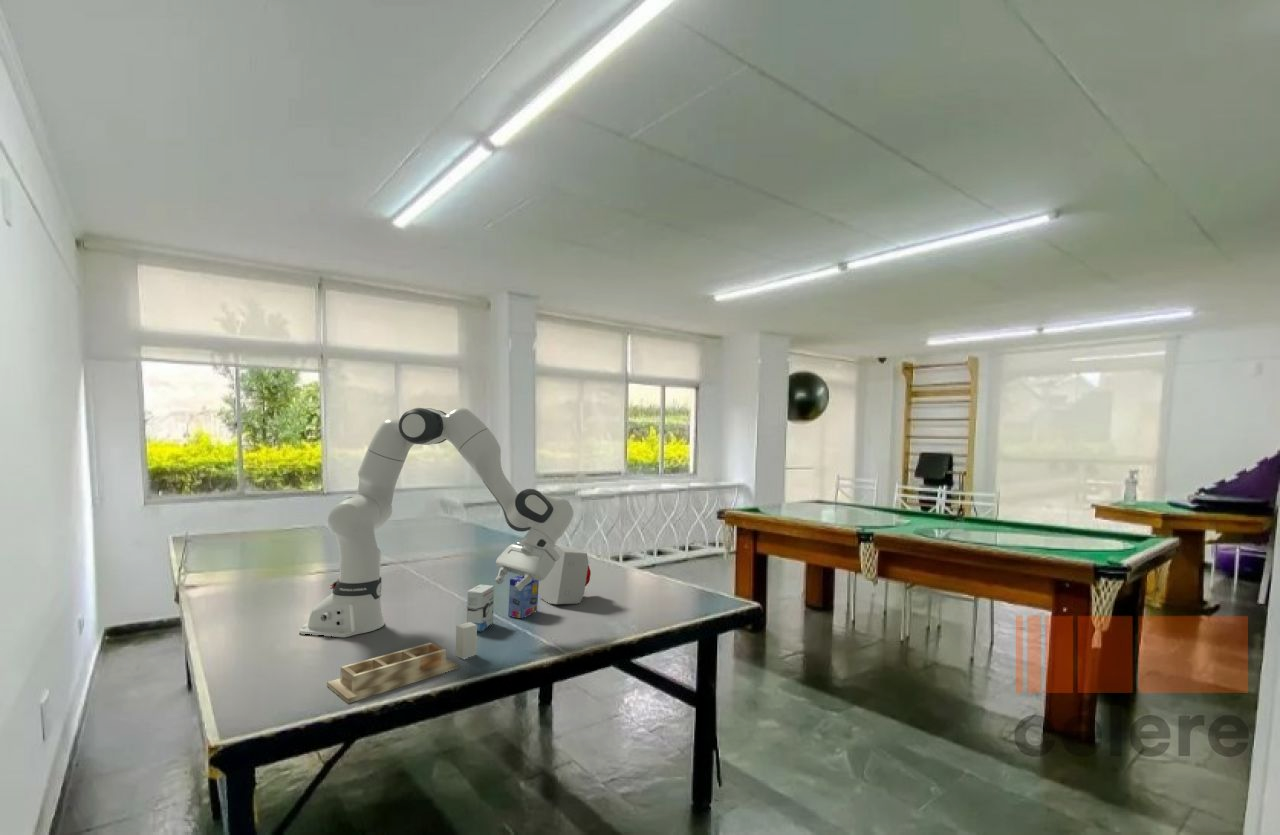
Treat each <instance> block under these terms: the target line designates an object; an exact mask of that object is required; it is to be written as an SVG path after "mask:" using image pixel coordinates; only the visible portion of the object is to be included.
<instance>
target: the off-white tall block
mask: <svg viewBox="0 0 1280 835" xmlns="http://www.w3.org/2000/svg"><path fill="white" fill-rule="evenodd" d="M477 638H478V632H477V625H476V624H474V623H471V622H468V623H467V622H464V623H461V624H457V625H456V632H455V657H456V656H458V657H460V658H462V659H464V658H467V657H470V656H473V655H476V656H477V649H478V647H477V646H478V644H477V642H478V640H477ZM458 657H457V658H458ZM460 658H459V659H460ZM470 658H471V657H470ZM462 659H461V660H462ZM467 659H468V658H467ZM464 660H465V659H464Z"/></svg>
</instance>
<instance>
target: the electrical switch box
mask: <svg viewBox="0 0 1280 835" xmlns="http://www.w3.org/2000/svg"><path fill="white" fill-rule="evenodd" d="M554 549H555V550H556V551H557V553H558V554H559V555H560V558H559V560H558V561H556V562H555V564H554V566H553V568H552V570H551V571H550V573H549V574H548V575H547V577H546V578H545V579H543V580H542V581H539V587H538V597H540V598H541V599H542V600H543V601H544V602H545V601H546V602H548V603H547V604H552V605H579V604H580V603H581V601H582V599H583V597H584V595H585V589H586V586H588V584H589V583H590V580H591V569H590V566H589V558H588V553H587V552H584V551H581V550H578V549H576V548H573V547H569V546H564V545H558V544H555V546H554ZM546 602H545V603H546ZM578 603H579V604H578Z"/></svg>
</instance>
